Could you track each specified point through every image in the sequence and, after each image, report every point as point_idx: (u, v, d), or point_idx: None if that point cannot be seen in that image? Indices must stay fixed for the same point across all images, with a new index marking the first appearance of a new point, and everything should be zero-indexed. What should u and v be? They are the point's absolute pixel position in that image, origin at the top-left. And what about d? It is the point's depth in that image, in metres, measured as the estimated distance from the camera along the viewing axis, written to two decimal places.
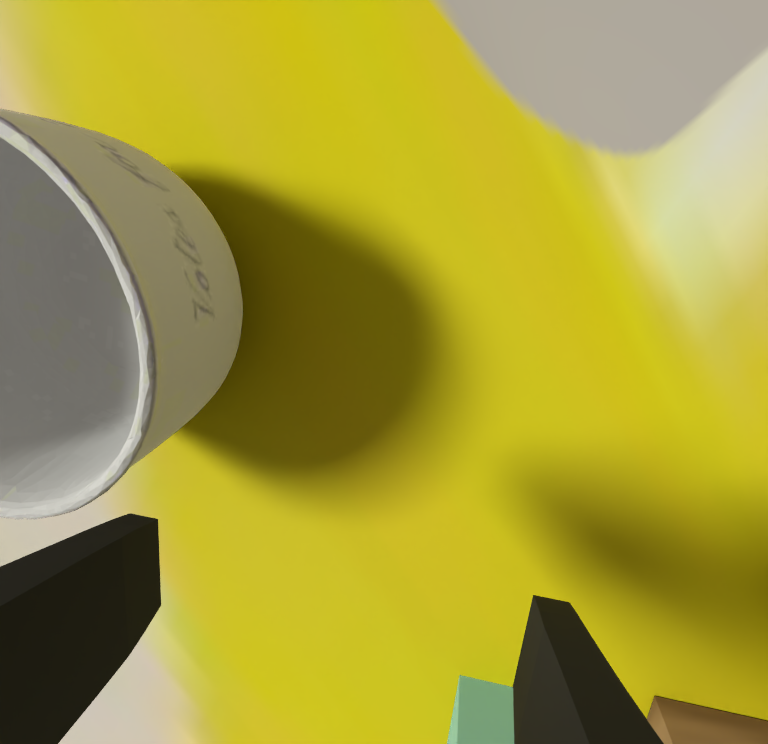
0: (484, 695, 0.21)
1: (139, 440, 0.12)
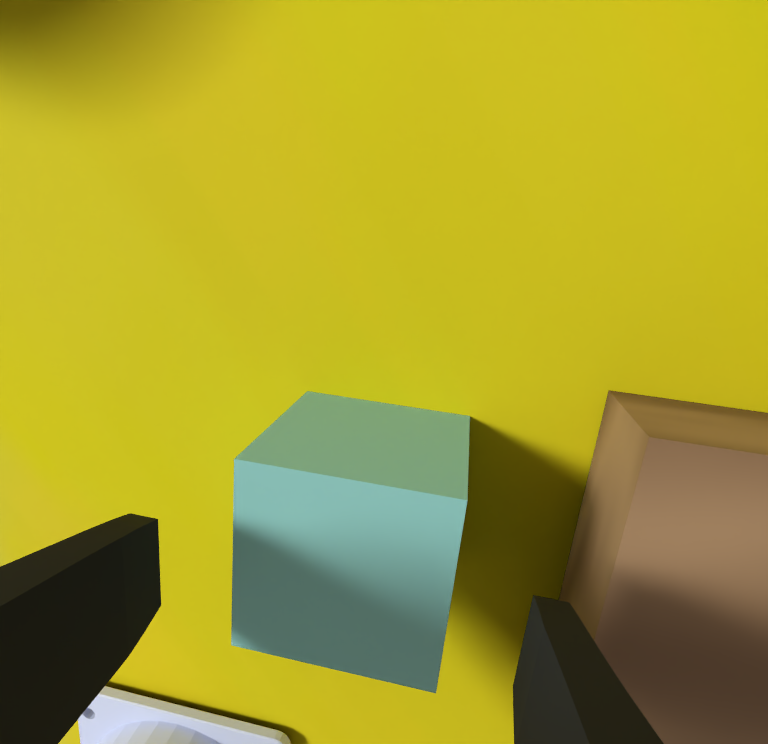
0: (337, 405, 0.13)
1: None
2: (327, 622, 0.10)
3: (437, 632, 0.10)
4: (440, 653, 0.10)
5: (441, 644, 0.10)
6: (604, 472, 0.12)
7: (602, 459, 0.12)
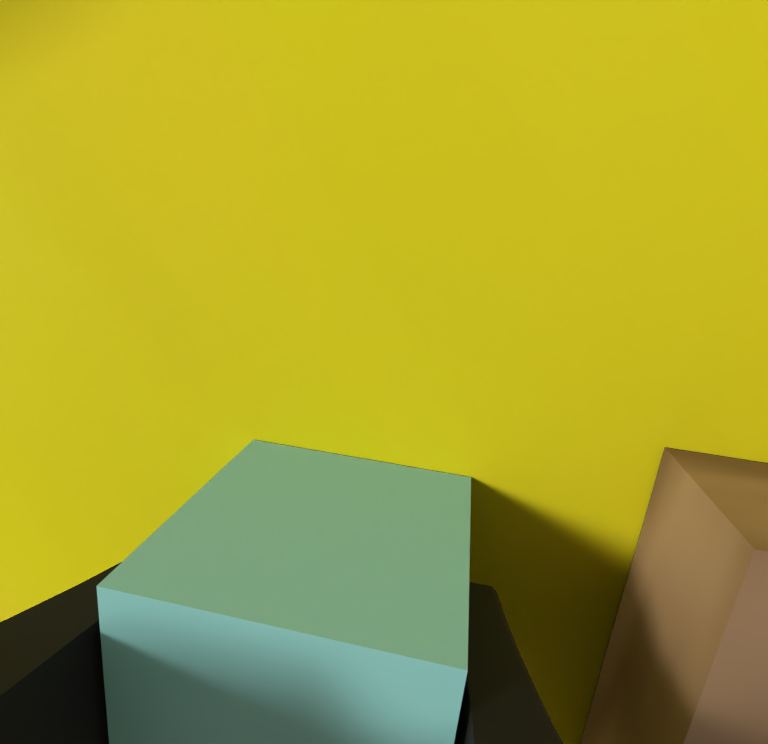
0: (288, 465, 0.09)
1: None
2: None
3: None
4: None
5: None
6: (662, 567, 0.08)
7: (657, 546, 0.09)
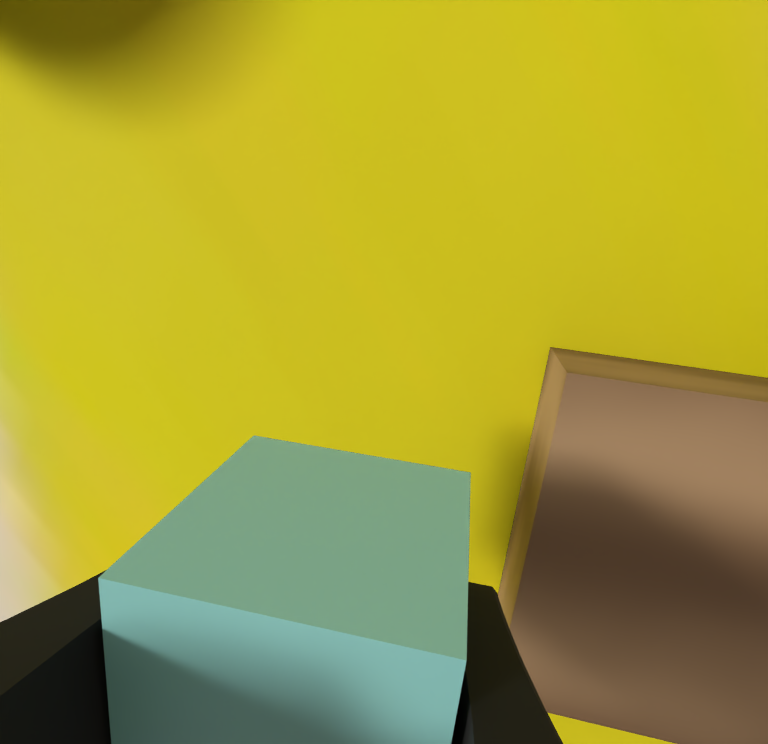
0: (288, 461, 0.09)
1: None
2: None
3: None
4: None
5: None
6: (544, 409, 0.15)
7: (543, 400, 0.15)
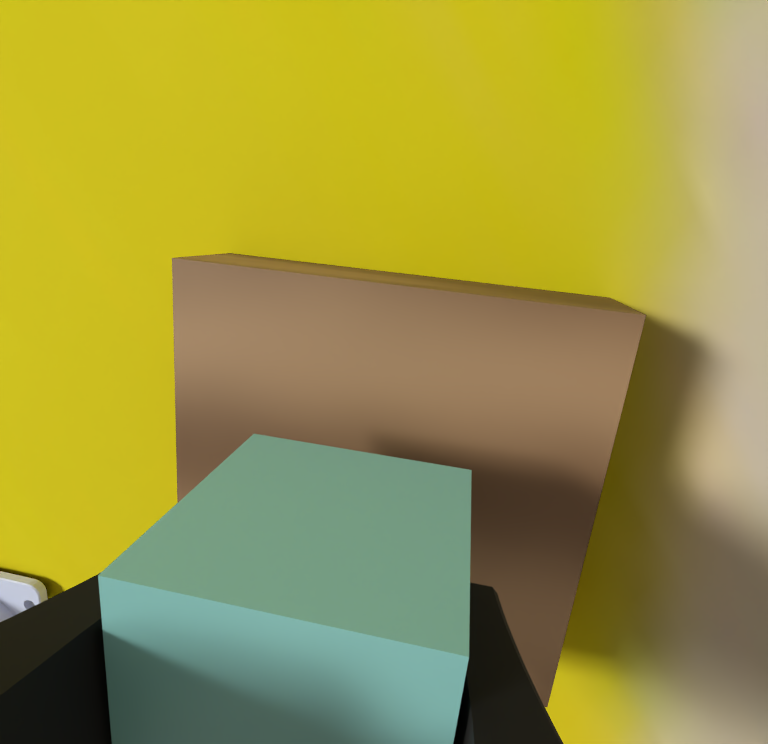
0: (288, 459, 0.09)
1: None
2: None
3: None
4: None
5: None
6: None
7: None
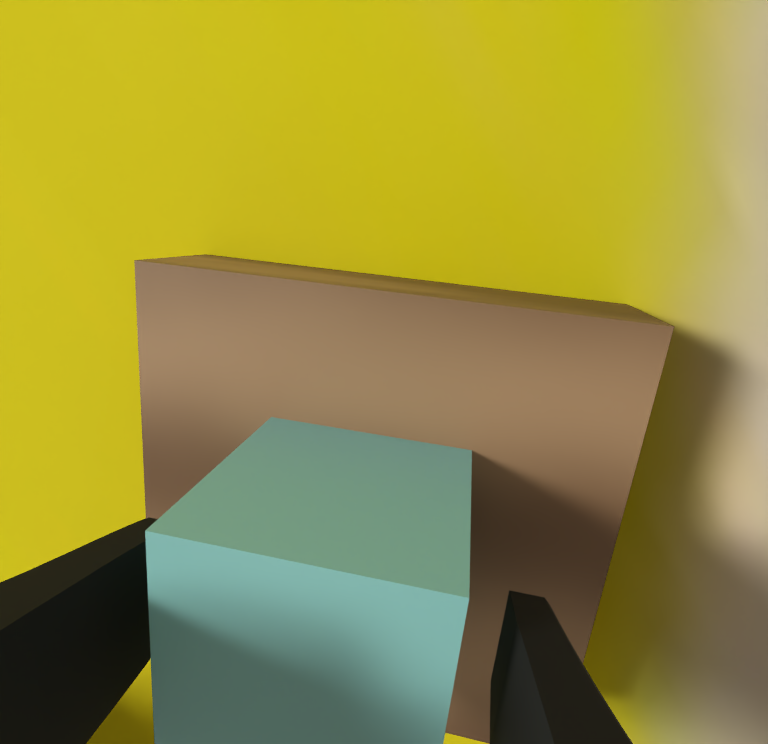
0: (304, 439, 0.10)
1: None
2: None
3: None
4: None
5: None
6: None
7: None
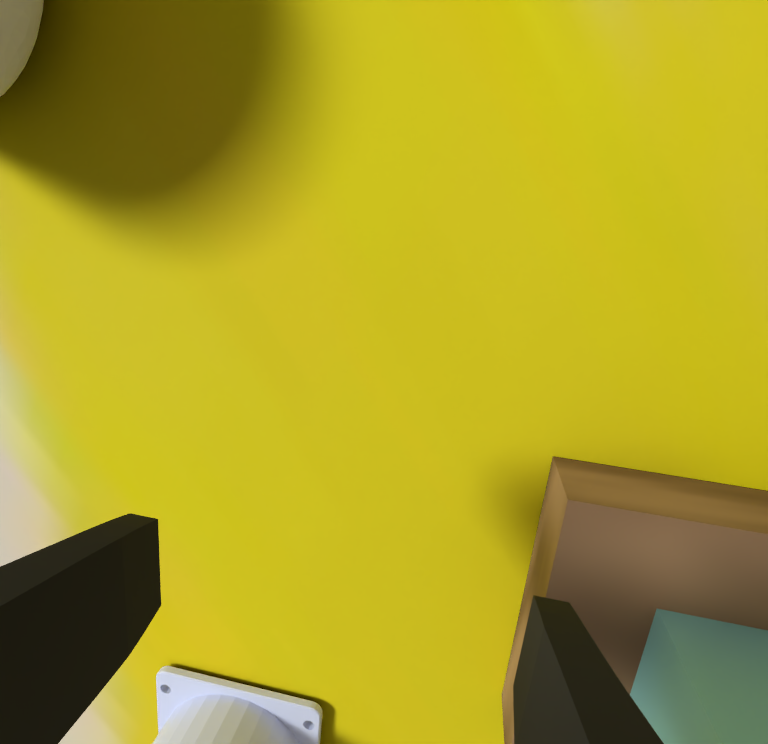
0: (705, 636, 0.14)
1: None
2: None
3: None
4: None
5: None
6: (548, 515, 0.17)
7: (547, 505, 0.17)
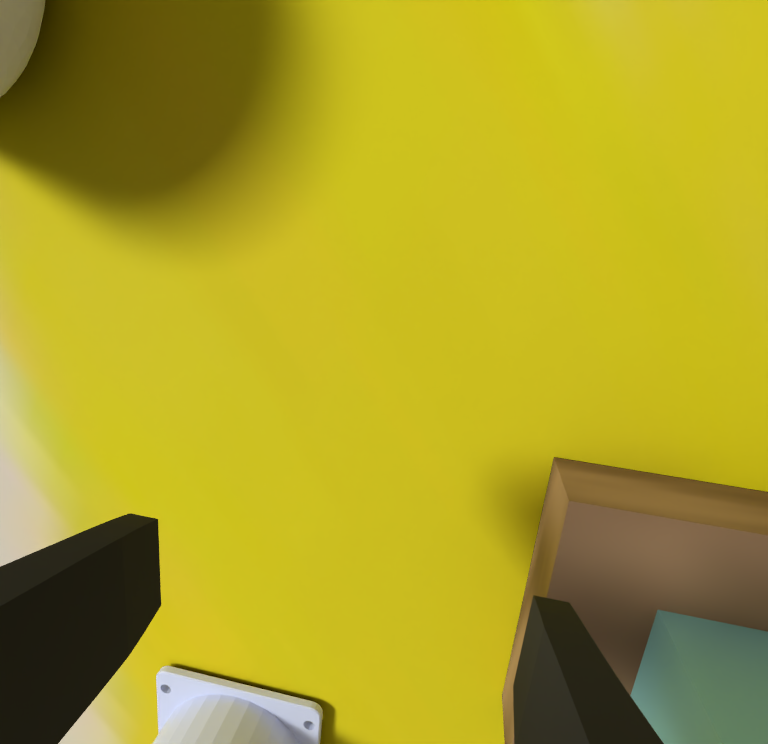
0: (706, 637, 0.14)
1: None
2: None
3: None
4: None
5: None
6: (549, 516, 0.17)
7: (548, 506, 0.17)
